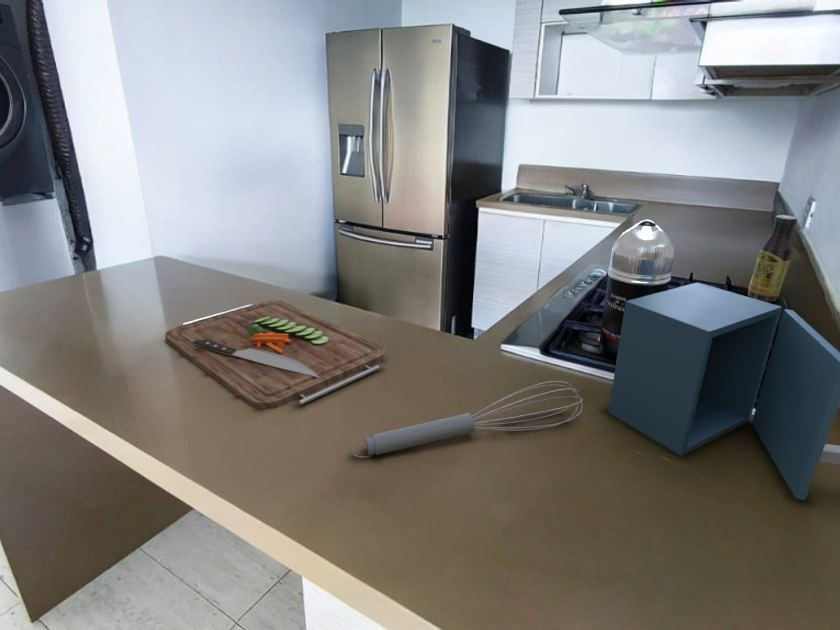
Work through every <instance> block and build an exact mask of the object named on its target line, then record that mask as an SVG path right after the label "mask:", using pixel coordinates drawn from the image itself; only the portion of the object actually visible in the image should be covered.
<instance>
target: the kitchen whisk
mask: <svg viewBox="0 0 840 630" xmlns="http://www.w3.org/2000/svg"><path fill="white" fill-rule="evenodd" d="M548 383H563V384H567V385H568V386H570V387H571V388H570V387H568V386H567V385H561V384H555V386H557V387H563V388H559V389H555V390H551V391H547V392H543V393H540V394H537V395H533V396H529V397H527V398H523V399H521V400H517V401H515V402H512V403H509V404H506V405H503V406H501V407H498V408H496V409H493V410H491V411H489V412H488V411H487V412H486V413H484V414H481V415H479V416H477V415H478V414H480V413H482V412H484V411H486V410H488V409H489V408H492V407H493V406H495V405H497V404H499V403H501V402H504V401H506V400H507V399H509V398H512V397H514V396H517V395H519V394H522V393H524V392H528V391H531V390H534V389H539V388H543V387H552V386H553V387H554V384H548ZM566 390H570V391H572V392H573V393H574V394H575V396H574V395H571V396H570V395H564V396H557V397H550V398H549V397H548V398H544V399H539V400H535V401H532V402H527V403H524V404H520V405H516V406H513V407H509V406H512V405H514V404H518V403H520V402H523V401H526V400H529V399H533V398H535V397H539V396H542V395H546V394H550V393H554V392H558V391H566ZM577 393H578V394H577ZM559 398H560V399H561V398H576V399H575V401H574V402H573V403H572V404H568V405H565V406H561V407H558V408H553V409H547V410H543V411H538V412H532V413H525V414H522V415H515V416H510V417H503V418H497V419H490V420H484V421H478V420H480V419H483V418H486V417H489V416H493V415H496V414H498V413H502V412H506V411H509V410H513V409H515V408H519V407H522V406H526V405H530V404H535V403H539V402H542V401H547V400H553V399H559ZM583 400H584V399H583V398H582V397H580V391H579V390H578V389H576V388H575V387H573V385H571V384H570V383H569V382H565V381H561V380H554V381H553V380H551V381H550V380H549V381H545V382H541V383H537V384H533V385H531V386H527V387H525V388H523V389H521V390H518V391H516V392H513V393H512V394H510V395H507V396H505V397H503V398H500V399H499V400H497V401H496V402H494V403H492V404H490V405H488V406H487V407H485V408H483V409H481V410H480V411H478V412H476V413H474V414H473V415H472V414H471V413H470V412H467V413H463V414H459V415H454V416H450V417H445V418H441V419H436V420H432V421H428V422H423V423H418V424H415V425H411V426H405V427H402V428H397V429H391V430H387V431H384V432H379V433H375V434H372V435H371V436H368V435H364V436H362V437H360V438H358V439H357V440H355V441H354V442H353V443H352V444H351V446H350V453H351V454H352V455H353V456H355V457H357V458H365V459H366V458H371V457H372V456H373V455H375V456H379V455H383V454H388V453H392V452H396V451H401V450H404V449H408V448H409V449H410V448H412V447H416V446H421V445H426V444H429V443H434V442H439V441H442V440H447V439H450V438H455V437H459V436H463V435H464V436H465V435H467V434H471V433H472V434H473V433H474V432H475V430H476V429H478V430H487V431H489V430H490V431H508V432H509V431H515V432H516V431H517V432H518V431H520V432H521V431H534V430H539V429H540V430H541V429H542V428H544V429H547V428H552V427H557V426H559V425H561V424H563V423H564V424H565V423H567V422H569V421H571V420H574V419H576V418H577V417H578V416H579V415H580V414H581V413H582V410H583V407H584V405H583V402H582V401H583ZM579 404H581V407H580V411H579V413H577V414H576V412H577V411H578V408H579ZM575 405H576V408H575V410H574V412H573V414H572V415H571V416H569V417H568V418H567V419H566V420H564V421H560V422H556V423H552V424H544V425H534V426H521V427H520V426H516V427H515V426H513V427H512V426H509V427H508V426H507V427H505V426H504V427H502V426H501V427H499V426H498V427H497V426H493V425H506V424H515V423H521V422H527V421H528V422H529V421H533V420H537V419H538V417H536V418H530V419H524V420H518V421H517V420H516V421H508V422H497V423H491V422H495V421H502V420H509V419H514V418H520V417H526V416H531V415H536V414H537V415H538V414H542V413H546V412H551V411H552V412H553V411H556V410H559V411H558V412H555V413H552V414H548V415H544V416H540V417H539V419H543V418H547V417H551V416H554V415H557V414H560V413H562V412H564V411H566V410H568V409H570V408H571V407H573V406H575ZM506 407H509V408H506ZM504 408H506V409H504ZM501 409H503V410H501ZM561 409H562V410H561ZM495 411H496V412H495ZM575 414H576V415H575ZM475 416H476V417H475ZM473 417H474V418H473ZM475 421H478V422H475ZM489 422H490V423H489ZM364 438H365V445H366V450H367V455H368V456H363V455H357V454H354V453H353V446H354V445H355V444H356V443H357V442H359V441H360V440H362V439H364Z"/></svg>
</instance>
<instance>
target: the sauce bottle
mask: <svg viewBox="0 0 840 630" xmlns="http://www.w3.org/2000/svg"><path fill="white" fill-rule="evenodd" d="M797 221H798V217H796V216H793V215H786V214H785V215H784V214H778V215H776V216H775V218H774V220H773V222H774V223H773V227H772V231H771V232H770V235H769V236H768V237H767V239H766V241H765V242H764V244H763V245H762V246H761V248H760V249H759V252H758V256H757V259H756V261H755V266H754V267H753V272H752V275H751V279H750V282H749V285H748V290H747V297H750V298H753V299H757V300H760V301H764V302H767V303H773V302H776V301H777V300H778V296H780V294H781V293H780V292H781V289H782V286H783V283H784V280H785V278H786V275H787V271H788V268H789V265H790V262H791V257H792V254H793V250H794V245H793V242H792V234H793V232H794V231H793V230H794V227H795V225H796V224H797Z"/></svg>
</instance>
